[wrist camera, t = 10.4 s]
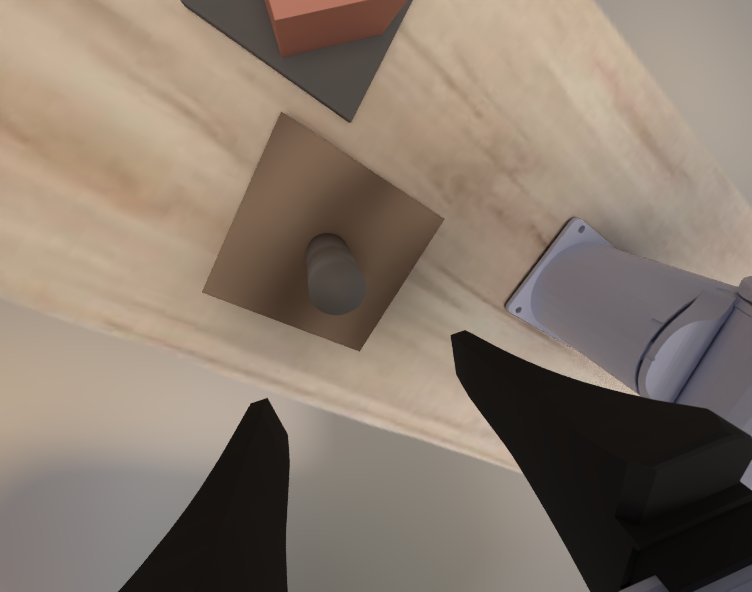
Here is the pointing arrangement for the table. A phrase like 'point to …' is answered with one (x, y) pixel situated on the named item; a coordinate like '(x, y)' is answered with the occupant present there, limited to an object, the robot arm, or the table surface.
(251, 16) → the mat
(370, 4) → the terracotta cube
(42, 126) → the table surface
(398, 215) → the post block
